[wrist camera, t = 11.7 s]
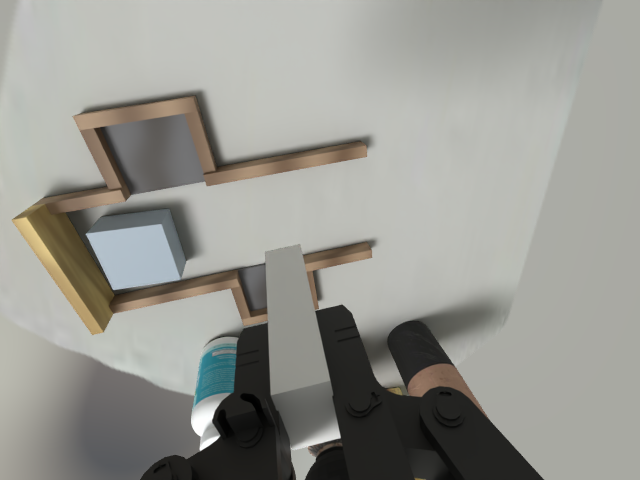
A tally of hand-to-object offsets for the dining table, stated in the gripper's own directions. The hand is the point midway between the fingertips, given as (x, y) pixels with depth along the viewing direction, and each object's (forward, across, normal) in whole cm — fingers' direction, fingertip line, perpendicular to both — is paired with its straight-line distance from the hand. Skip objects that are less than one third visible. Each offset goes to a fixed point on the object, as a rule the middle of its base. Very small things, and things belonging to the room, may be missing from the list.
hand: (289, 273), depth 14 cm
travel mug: (+24, +15, -35) cm, 45 cm away
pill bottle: (+23, -13, -28) cm, 39 cm away
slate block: (+23, -16, -8) cm, 29 cm away
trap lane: (+23, -6, -9) cm, 25 cm away
